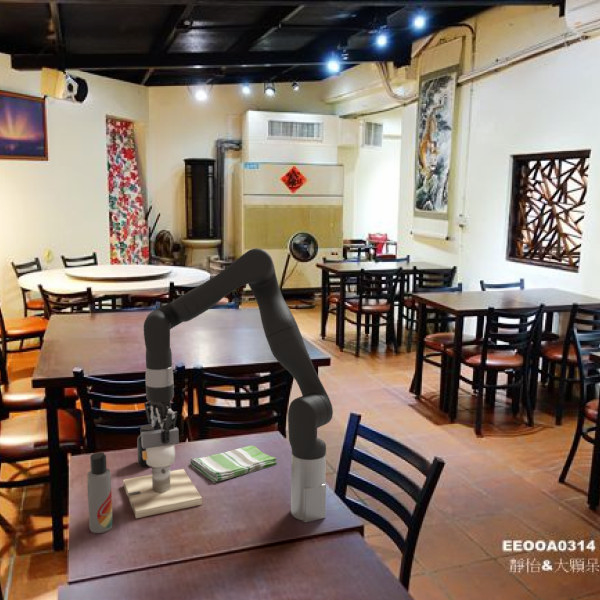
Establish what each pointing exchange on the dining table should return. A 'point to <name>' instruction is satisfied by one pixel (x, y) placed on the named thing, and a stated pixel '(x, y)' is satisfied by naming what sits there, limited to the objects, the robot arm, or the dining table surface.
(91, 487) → the lotion bottle
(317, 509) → the robot arm
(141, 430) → the supplement bottle
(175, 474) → the post board
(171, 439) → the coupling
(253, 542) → the dining table surface
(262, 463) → the dish towel
